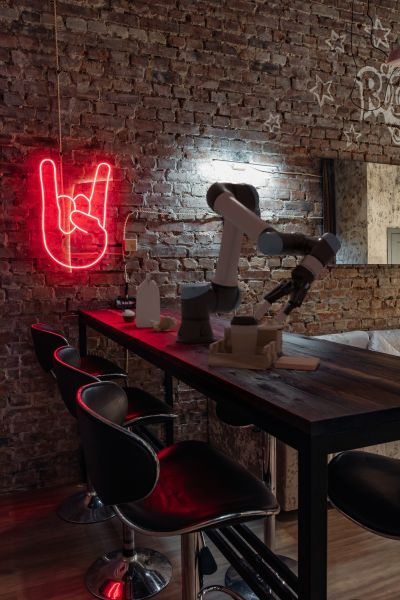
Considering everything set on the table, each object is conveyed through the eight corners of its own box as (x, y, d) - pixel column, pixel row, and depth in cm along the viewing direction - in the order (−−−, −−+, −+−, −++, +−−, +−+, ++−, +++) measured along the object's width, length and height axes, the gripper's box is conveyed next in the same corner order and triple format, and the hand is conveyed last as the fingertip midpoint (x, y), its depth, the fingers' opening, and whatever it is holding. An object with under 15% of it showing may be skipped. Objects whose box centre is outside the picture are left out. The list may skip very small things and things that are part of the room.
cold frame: (224, 355, 184) (225, 327, 183) (276, 359, 178) (277, 329, 177) (208, 365, 167) (208, 334, 166) (265, 369, 161) (265, 336, 160)
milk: (135, 324, 272) (135, 273, 270) (158, 323, 274) (157, 273, 272) (137, 327, 260) (136, 273, 258) (160, 326, 263) (160, 273, 261)
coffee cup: (260, 360, 176) (260, 315, 174) (255, 365, 167) (255, 318, 166) (233, 359, 178) (233, 314, 177) (227, 364, 169) (227, 317, 168)
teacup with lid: (287, 353, 190) (287, 320, 189) (263, 354, 187) (263, 321, 186) (273, 347, 201) (273, 316, 200) (250, 348, 199) (250, 317, 198)
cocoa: (136, 322, 286) (136, 299, 286) (137, 322, 280) (137, 300, 279) (118, 321, 284) (118, 299, 283) (118, 322, 278) (119, 299, 277)
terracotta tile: (281, 360, 175) (281, 356, 175) (319, 362, 172) (319, 358, 171) (274, 367, 164) (274, 362, 164) (314, 370, 160) (314, 365, 160)
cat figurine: (148, 318, 248) (172, 310, 250) (151, 331, 251) (175, 323, 253) (152, 324, 240) (177, 316, 243) (155, 338, 243) (180, 330, 246)
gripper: (335, 281, 168) (294, 331, 163) (292, 278, 191) (255, 322, 186) (321, 264, 165) (279, 315, 161) (279, 263, 188) (241, 308, 184)
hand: (266, 319), depth 173 cm, fingers open, 13 cm apart
